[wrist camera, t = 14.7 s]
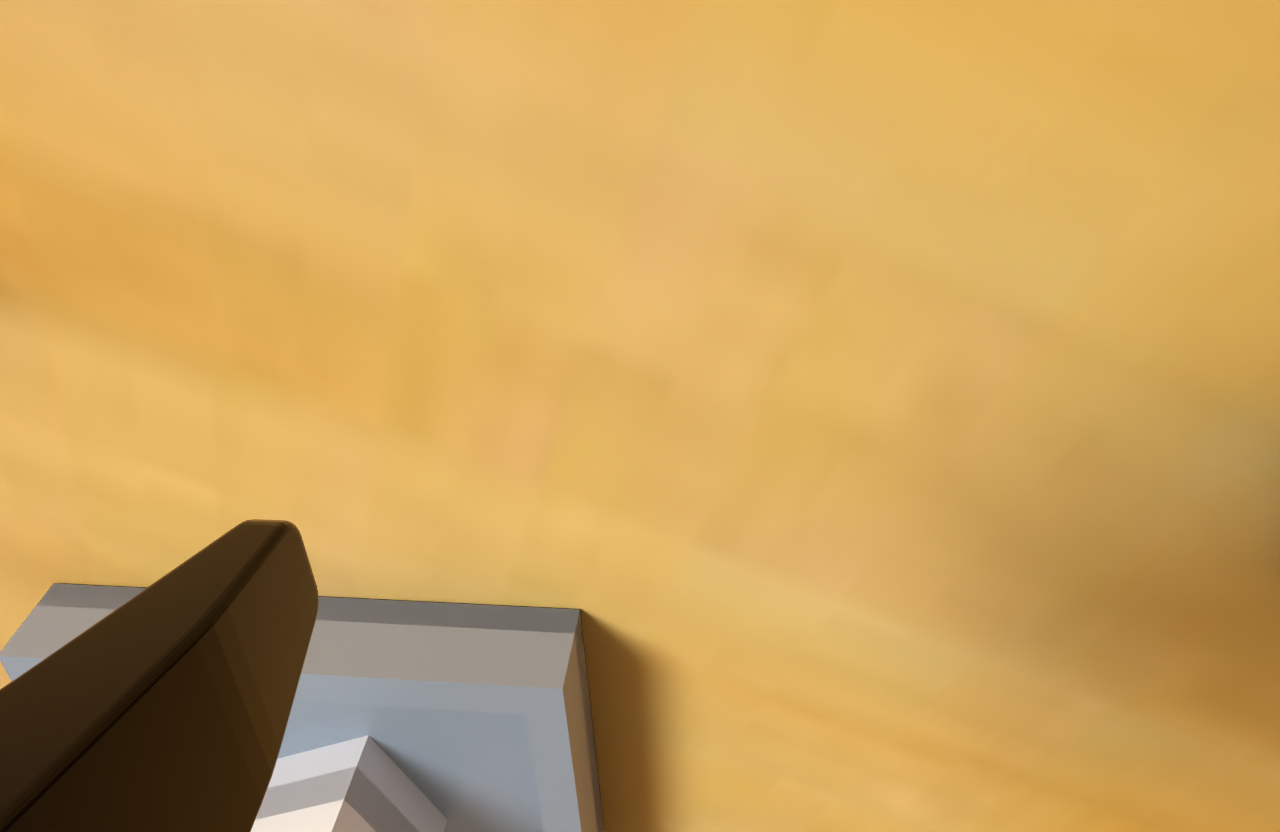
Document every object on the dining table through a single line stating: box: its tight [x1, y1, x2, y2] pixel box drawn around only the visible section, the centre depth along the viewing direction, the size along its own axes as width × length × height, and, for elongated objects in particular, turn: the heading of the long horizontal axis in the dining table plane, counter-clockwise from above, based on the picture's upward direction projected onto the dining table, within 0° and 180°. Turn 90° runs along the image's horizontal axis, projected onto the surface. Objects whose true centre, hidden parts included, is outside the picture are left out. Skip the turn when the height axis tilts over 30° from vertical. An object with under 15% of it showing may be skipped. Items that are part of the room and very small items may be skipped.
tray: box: [0, 583, 604, 832], centre depth 31 cm, size 14×14×2 cm
